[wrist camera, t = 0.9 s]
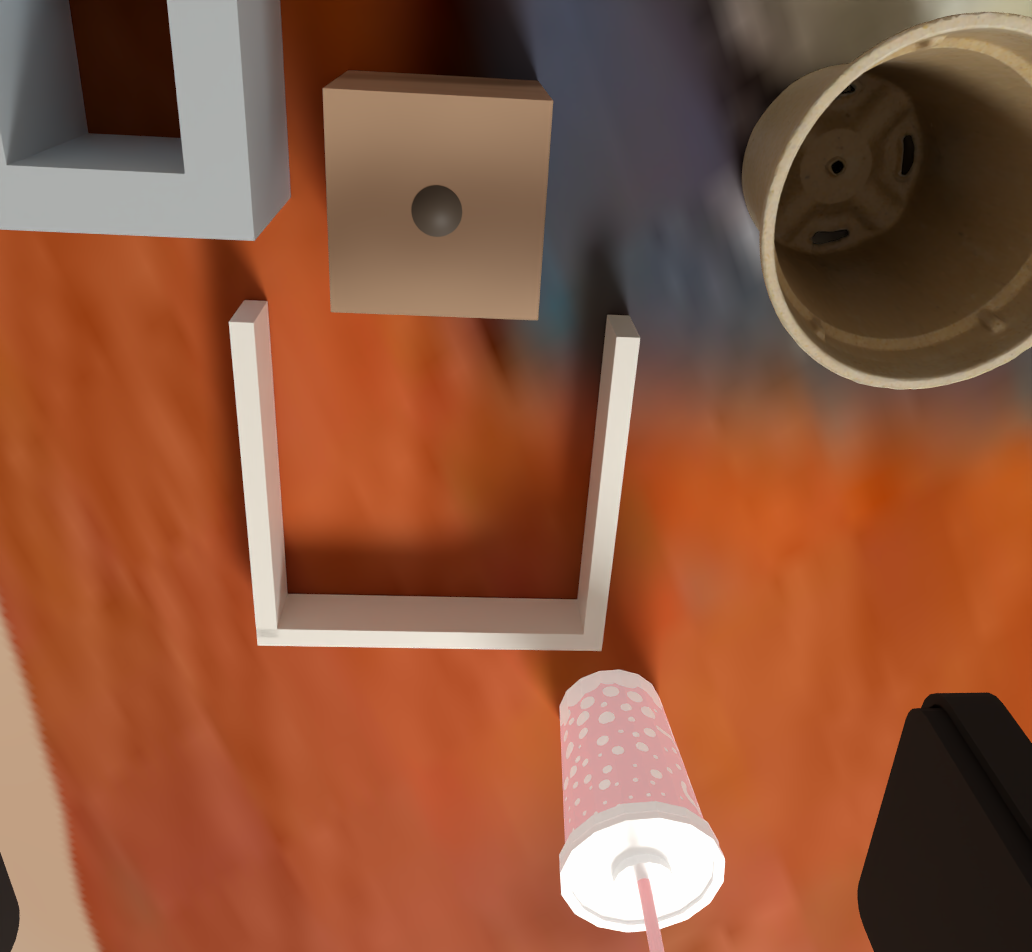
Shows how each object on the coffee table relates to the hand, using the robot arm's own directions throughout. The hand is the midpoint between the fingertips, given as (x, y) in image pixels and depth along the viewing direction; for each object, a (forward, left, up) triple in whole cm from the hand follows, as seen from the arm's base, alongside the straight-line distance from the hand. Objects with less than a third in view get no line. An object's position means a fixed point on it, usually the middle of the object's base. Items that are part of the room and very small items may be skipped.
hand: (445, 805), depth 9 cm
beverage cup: (+21, +7, -26) cm, 34 cm away
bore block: (-5, -10, -25) cm, 28 cm away
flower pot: (-3, +12, -26) cm, 28 cm away
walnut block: (-2, -1, -25) cm, 26 cm away
